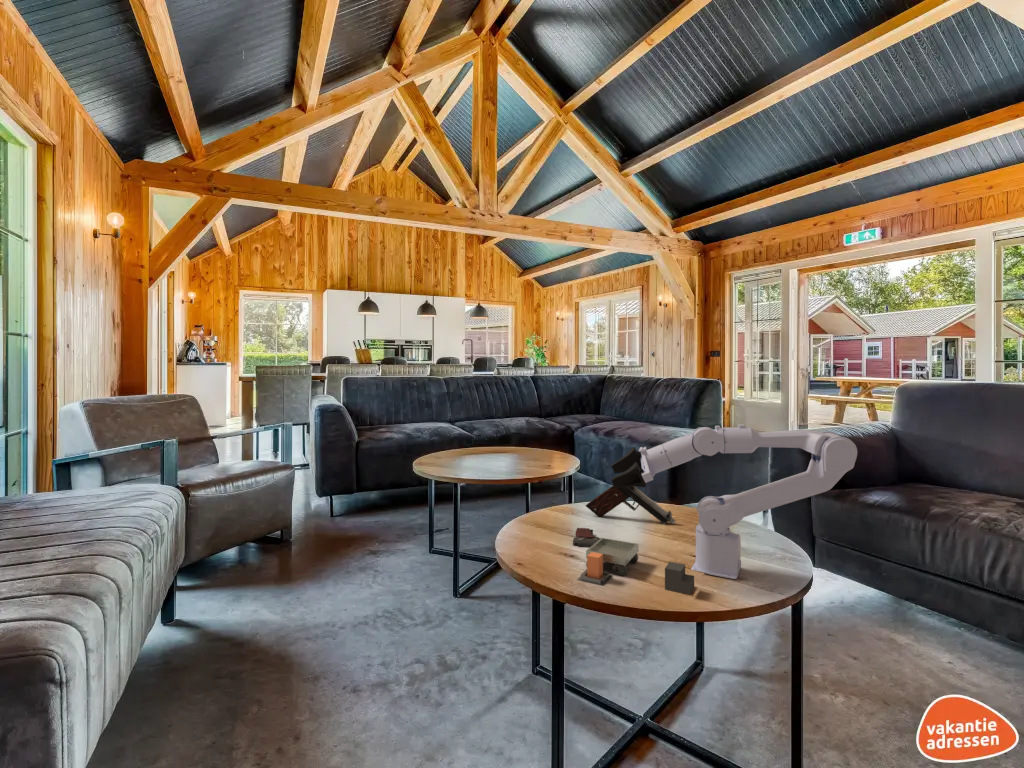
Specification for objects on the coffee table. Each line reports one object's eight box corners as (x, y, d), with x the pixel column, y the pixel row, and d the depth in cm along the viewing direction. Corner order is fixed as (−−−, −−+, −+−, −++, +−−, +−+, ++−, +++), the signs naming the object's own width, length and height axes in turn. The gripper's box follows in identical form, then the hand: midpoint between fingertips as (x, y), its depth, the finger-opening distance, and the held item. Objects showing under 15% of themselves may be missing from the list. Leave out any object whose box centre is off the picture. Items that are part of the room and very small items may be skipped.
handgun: (646, 556, 152) (677, 519, 148) (585, 505, 158) (613, 468, 154) (647, 553, 154) (678, 516, 150) (587, 503, 161) (615, 466, 157)
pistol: (631, 539, 139) (633, 554, 127) (575, 535, 142) (572, 549, 130) (631, 530, 139) (633, 544, 127) (575, 526, 142) (572, 539, 130)
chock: (694, 590, 106) (694, 566, 106) (690, 597, 102) (690, 573, 102) (669, 585, 108) (669, 561, 108) (664, 592, 105) (664, 568, 105)
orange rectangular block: (602, 576, 111) (602, 554, 111) (598, 581, 109) (598, 557, 109) (591, 574, 113) (591, 551, 112) (587, 578, 110) (587, 555, 110)
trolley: (638, 563, 120) (638, 543, 120) (625, 579, 111) (624, 557, 111) (601, 556, 124) (601, 537, 124) (586, 571, 116) (586, 550, 116)
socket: (613, 577, 112) (613, 571, 112) (603, 588, 107) (603, 581, 107) (587, 572, 115) (587, 566, 115) (576, 582, 110) (576, 576, 110)
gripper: (657, 429, 125) (606, 449, 129) (663, 453, 111) (605, 475, 115) (669, 454, 126) (618, 473, 130) (676, 480, 112) (618, 501, 116)
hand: (613, 476), depth 122 cm, fingers open, 7 cm apart
